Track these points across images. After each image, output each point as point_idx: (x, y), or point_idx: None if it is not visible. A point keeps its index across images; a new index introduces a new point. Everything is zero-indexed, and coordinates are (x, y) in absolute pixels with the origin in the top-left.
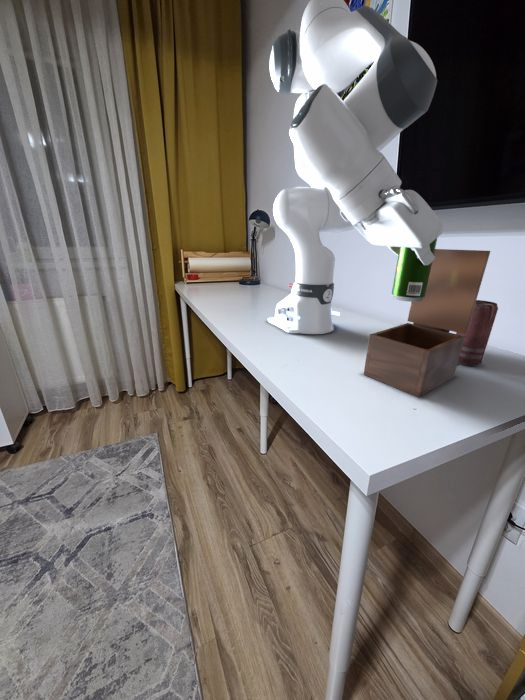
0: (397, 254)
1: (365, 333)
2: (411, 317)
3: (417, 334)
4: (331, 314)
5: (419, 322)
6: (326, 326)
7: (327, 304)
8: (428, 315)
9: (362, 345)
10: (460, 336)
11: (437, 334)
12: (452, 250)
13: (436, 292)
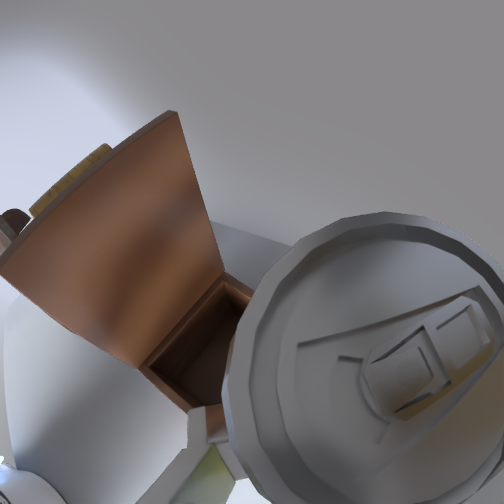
0: (231, 489)
1: (41, 413)
2: (137, 359)
3: (171, 353)
4: (15, 483)
5: (156, 345)
6: (50, 499)
7: (11, 502)
8: (159, 323)
9: (109, 444)
10: (228, 279)
11: (196, 317)
12: (85, 184)
13: (136, 289)
